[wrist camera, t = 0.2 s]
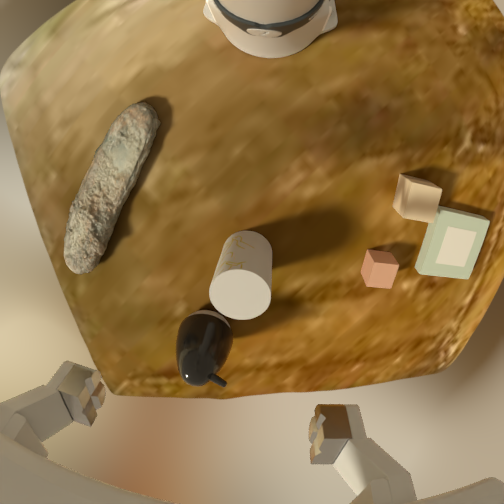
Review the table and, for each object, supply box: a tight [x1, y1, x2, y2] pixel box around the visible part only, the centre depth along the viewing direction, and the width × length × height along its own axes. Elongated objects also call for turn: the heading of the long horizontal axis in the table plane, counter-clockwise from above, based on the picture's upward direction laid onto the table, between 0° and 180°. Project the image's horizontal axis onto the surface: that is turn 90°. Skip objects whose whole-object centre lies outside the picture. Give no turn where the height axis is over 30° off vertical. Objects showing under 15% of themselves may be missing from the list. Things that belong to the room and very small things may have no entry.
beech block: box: [392, 174, 442, 223], centre depth 42 cm, size 6×6×5 cm
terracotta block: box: [361, 249, 399, 289], centre depth 48 cm, size 4×4×4 cm
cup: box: [209, 231, 272, 320], centre depth 46 cm, size 8×8×12 cm
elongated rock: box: [64, 102, 160, 274], centre depth 46 cm, size 35×5×10 cm
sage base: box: [415, 205, 490, 279], centre depth 46 cm, size 12×12×2 cm
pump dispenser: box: [176, 310, 233, 387], centre depth 52 cm, size 10×10×15 cm
